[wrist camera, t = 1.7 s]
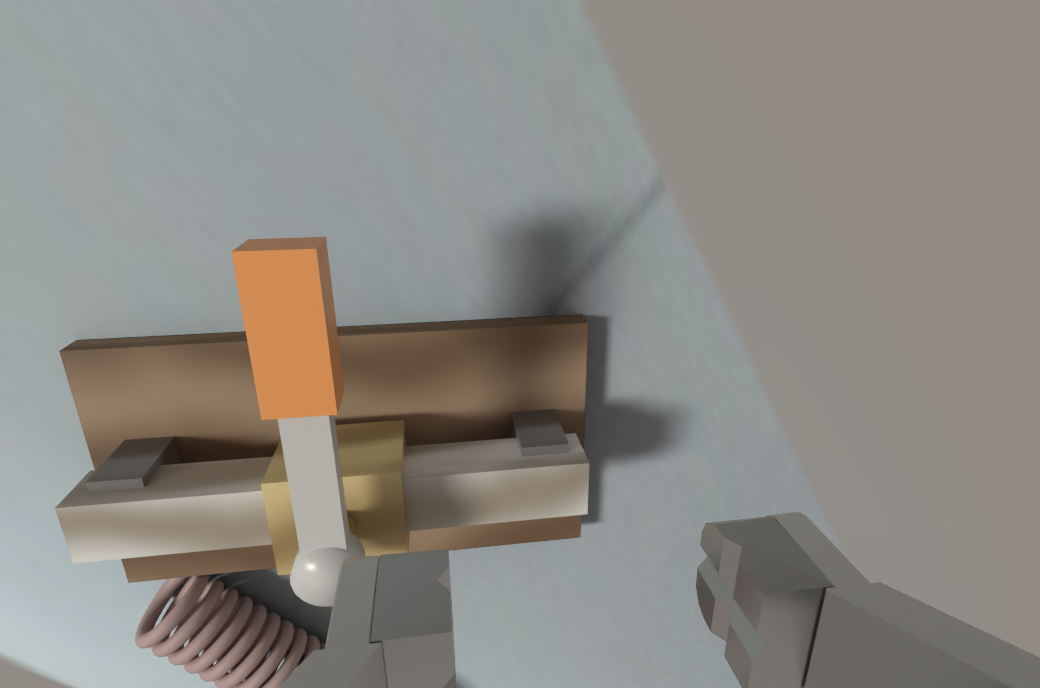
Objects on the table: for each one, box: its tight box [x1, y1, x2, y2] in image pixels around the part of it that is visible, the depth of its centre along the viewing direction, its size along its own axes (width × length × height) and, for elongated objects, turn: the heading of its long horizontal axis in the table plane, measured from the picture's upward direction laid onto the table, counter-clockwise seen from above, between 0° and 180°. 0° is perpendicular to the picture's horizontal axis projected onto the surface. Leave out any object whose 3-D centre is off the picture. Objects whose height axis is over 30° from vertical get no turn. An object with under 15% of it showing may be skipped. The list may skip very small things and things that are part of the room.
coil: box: [135, 575, 326, 688], centre depth 37 cm, size 5×5×18 cm
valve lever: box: [232, 237, 365, 607], centre depth 23 cm, size 15×3×2 cm, turn 0°
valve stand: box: [55, 314, 590, 583], centre depth 30 cm, size 14×26×9 cm, turn 90°
